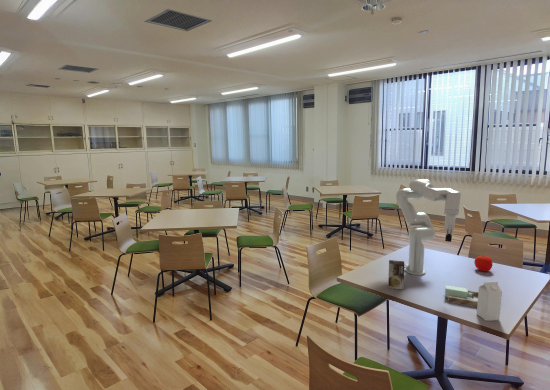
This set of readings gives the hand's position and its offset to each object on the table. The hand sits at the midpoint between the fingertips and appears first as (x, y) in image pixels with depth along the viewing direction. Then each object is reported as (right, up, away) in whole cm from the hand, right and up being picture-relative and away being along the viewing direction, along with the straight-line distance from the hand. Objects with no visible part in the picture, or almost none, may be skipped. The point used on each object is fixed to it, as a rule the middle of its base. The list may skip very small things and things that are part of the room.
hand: (448, 241), depth 200 cm
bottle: (-5, -28, -7) cm, 29 cm away
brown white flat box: (+5, -32, -11) cm, 34 cm away
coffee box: (-29, -30, +7) cm, 42 cm away
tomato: (+41, -25, +33) cm, 58 cm away
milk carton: (+5, -35, -30) cm, 46 cm away
